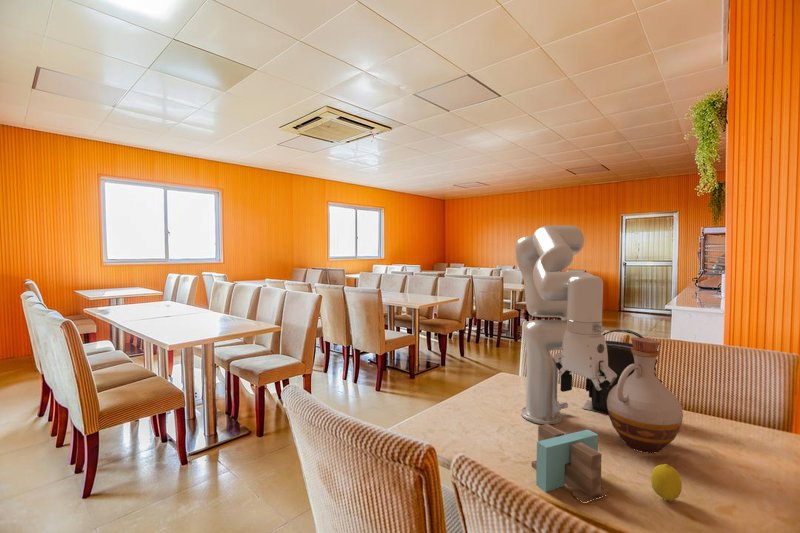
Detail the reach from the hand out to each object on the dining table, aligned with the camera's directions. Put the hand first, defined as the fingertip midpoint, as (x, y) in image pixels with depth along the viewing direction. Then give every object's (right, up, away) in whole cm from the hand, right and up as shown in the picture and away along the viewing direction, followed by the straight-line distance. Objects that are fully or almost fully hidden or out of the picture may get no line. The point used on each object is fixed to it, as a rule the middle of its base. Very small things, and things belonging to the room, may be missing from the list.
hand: (581, 397), depth 94 cm
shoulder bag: (+30, -18, +37) cm, 51 cm away
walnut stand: (-4, -19, -1) cm, 20 cm away
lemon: (+14, -20, -9) cm, 26 cm away
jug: (+23, -19, +14) cm, 33 cm away
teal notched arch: (-4, -19, -1) cm, 20 cm away
